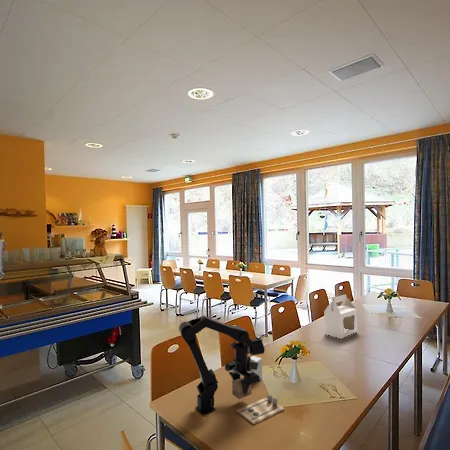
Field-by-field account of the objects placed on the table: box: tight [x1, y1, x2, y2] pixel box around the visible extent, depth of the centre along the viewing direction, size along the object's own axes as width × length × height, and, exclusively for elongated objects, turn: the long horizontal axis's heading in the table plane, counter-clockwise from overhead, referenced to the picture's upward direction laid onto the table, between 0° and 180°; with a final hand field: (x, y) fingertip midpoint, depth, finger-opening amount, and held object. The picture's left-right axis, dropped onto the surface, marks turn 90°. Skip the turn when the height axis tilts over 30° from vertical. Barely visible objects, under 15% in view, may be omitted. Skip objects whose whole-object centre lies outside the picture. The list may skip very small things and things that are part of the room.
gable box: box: [323, 294, 358, 340], centre depth 228 cm, size 22×13×28 cm, turn 129°
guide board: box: [236, 393, 285, 426], centre depth 132 cm, size 17×11×4 cm, turn 125°
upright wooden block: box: [231, 376, 252, 400], centre depth 139 cm, size 7×5×6 cm
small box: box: [248, 355, 263, 385], centre depth 160 cm, size 8×6×10 cm
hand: (241, 391), depth 139 cm, fingers closed on upright wooden block, 5 cm apart
